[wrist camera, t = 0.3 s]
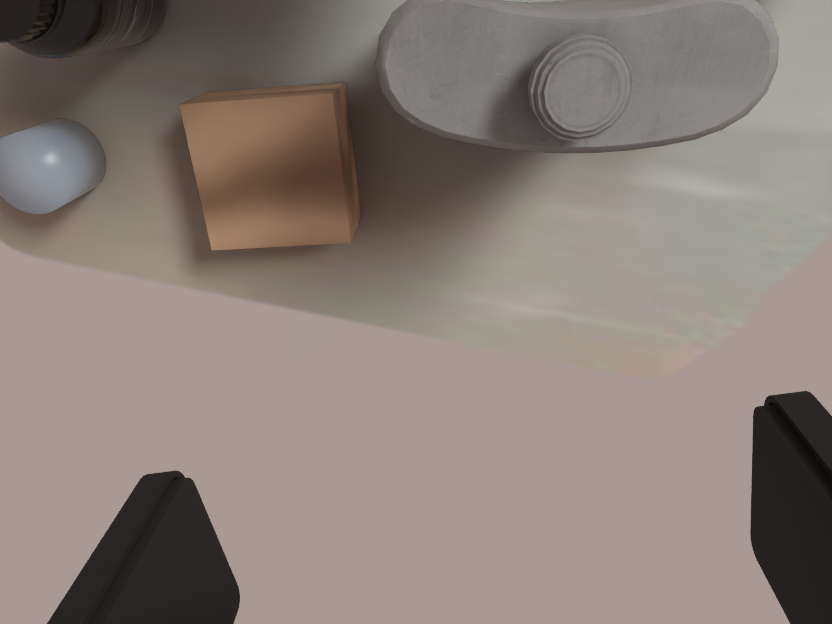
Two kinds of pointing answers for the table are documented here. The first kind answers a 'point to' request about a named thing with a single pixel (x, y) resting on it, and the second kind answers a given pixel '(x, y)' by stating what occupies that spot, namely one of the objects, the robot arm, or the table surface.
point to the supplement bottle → (77, 25)
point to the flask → (576, 70)
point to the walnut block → (274, 165)
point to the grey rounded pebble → (49, 165)
